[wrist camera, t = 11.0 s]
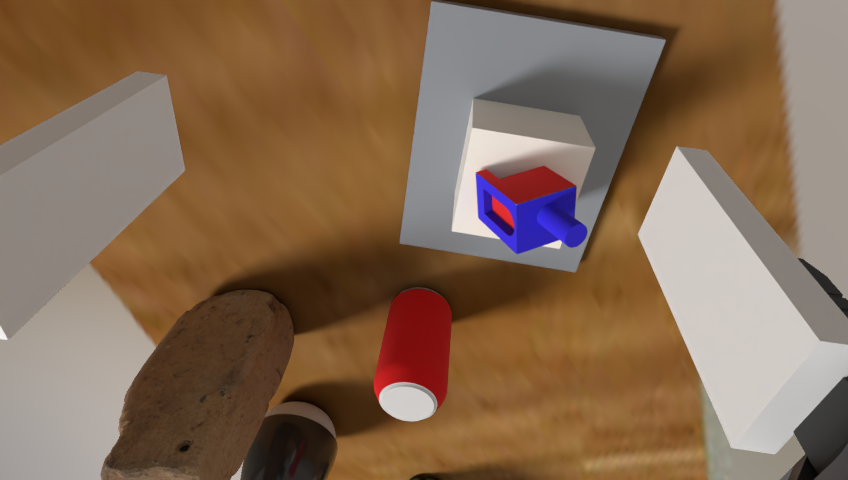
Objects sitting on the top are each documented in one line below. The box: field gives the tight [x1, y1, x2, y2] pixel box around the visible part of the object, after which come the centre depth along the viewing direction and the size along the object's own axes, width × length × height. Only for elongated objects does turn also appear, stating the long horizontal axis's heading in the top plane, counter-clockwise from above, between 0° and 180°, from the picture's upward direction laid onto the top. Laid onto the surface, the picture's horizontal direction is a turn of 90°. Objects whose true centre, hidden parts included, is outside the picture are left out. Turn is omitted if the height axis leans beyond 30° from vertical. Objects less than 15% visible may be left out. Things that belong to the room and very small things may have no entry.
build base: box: [399, 0, 666, 272], centre depth 37 cm, size 20×16×7 cm
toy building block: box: [476, 166, 588, 254], centre depth 32 cm, size 4×4×8 cm
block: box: [101, 290, 294, 480], centre depth 45 cm, size 11×8×20 cm
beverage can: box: [374, 287, 452, 421], centre depth 45 cm, size 6×6×12 cm
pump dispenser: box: [240, 402, 338, 480], centre depth 56 cm, size 10×10×15 cm
